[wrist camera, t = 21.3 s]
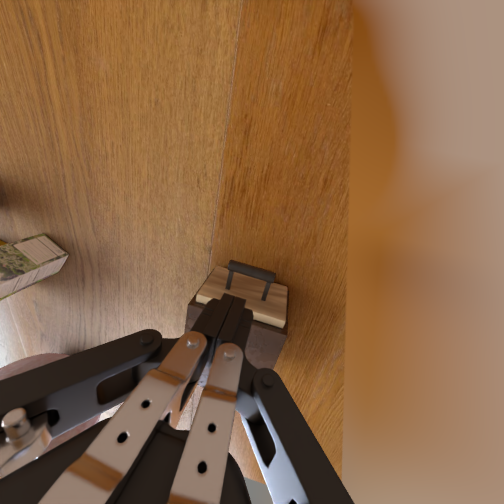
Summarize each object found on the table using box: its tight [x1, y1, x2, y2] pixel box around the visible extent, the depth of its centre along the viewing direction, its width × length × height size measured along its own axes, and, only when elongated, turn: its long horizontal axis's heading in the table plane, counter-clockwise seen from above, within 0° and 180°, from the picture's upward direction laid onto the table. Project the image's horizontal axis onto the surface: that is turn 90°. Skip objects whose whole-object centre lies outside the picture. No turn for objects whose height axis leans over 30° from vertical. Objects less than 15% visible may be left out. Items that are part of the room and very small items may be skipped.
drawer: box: [196, 260, 287, 328], centre depth 32 cm, size 18×11×8 cm, turn 167°
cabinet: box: [184, 268, 289, 387], centre depth 34 cm, size 15×13×10 cm
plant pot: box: [0, 353, 101, 456], centre depth 40 cm, size 24×24×30 cm
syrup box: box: [0, 233, 69, 300], centre depth 34 cm, size 6×6×14 cm
